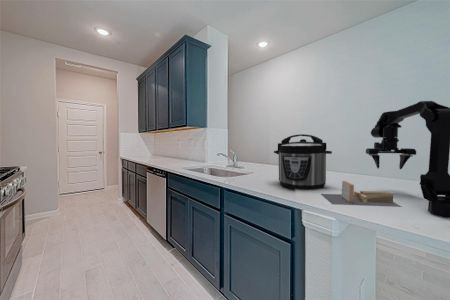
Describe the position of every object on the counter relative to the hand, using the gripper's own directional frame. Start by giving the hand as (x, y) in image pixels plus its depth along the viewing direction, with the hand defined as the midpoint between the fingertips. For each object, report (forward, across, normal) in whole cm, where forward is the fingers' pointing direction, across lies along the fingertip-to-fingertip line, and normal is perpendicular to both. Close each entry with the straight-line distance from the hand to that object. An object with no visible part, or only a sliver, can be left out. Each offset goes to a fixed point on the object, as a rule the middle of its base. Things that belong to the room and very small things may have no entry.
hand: (389, 168), depth 98 cm
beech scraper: (+13, +10, +14) cm, 22 cm away
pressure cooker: (+14, +41, -9) cm, 44 cm away
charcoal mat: (+14, +17, +15) cm, 27 cm away
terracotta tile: (+13, +22, +16) cm, 30 cm away
